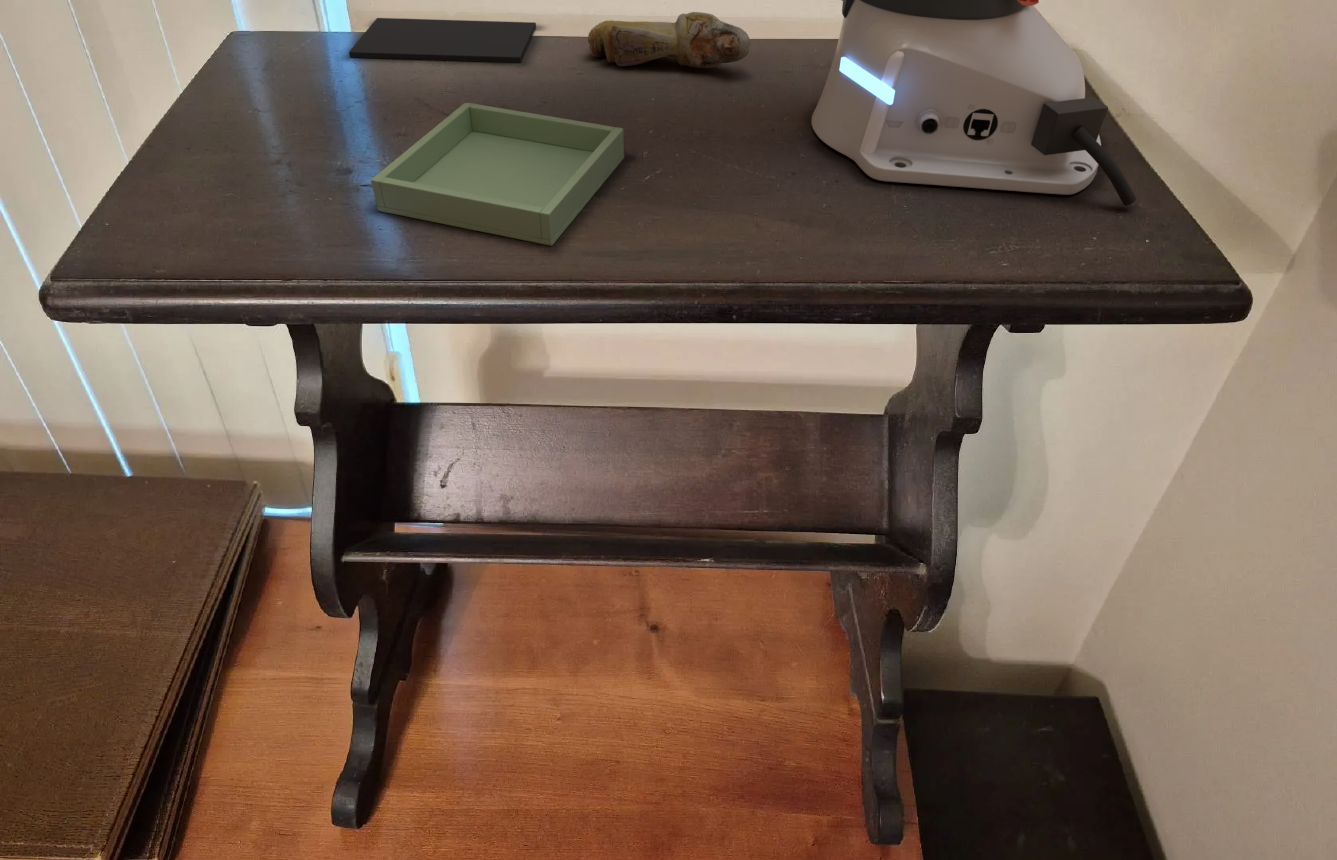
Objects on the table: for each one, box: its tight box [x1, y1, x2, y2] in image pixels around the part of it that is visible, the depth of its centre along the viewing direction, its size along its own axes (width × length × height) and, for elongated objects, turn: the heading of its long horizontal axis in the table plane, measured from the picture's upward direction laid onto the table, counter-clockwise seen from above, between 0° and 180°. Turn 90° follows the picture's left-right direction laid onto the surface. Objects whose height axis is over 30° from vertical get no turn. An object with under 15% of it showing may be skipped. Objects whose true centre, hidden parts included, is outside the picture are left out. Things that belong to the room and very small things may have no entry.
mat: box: [348, 17, 537, 63], centre depth 84 cm, size 16×9×1 cm, turn 87°
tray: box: [370, 102, 625, 247], centre depth 64 cm, size 13×13×2 cm
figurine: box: [587, 11, 752, 69], centre depth 79 cm, size 5×5×15 cm
